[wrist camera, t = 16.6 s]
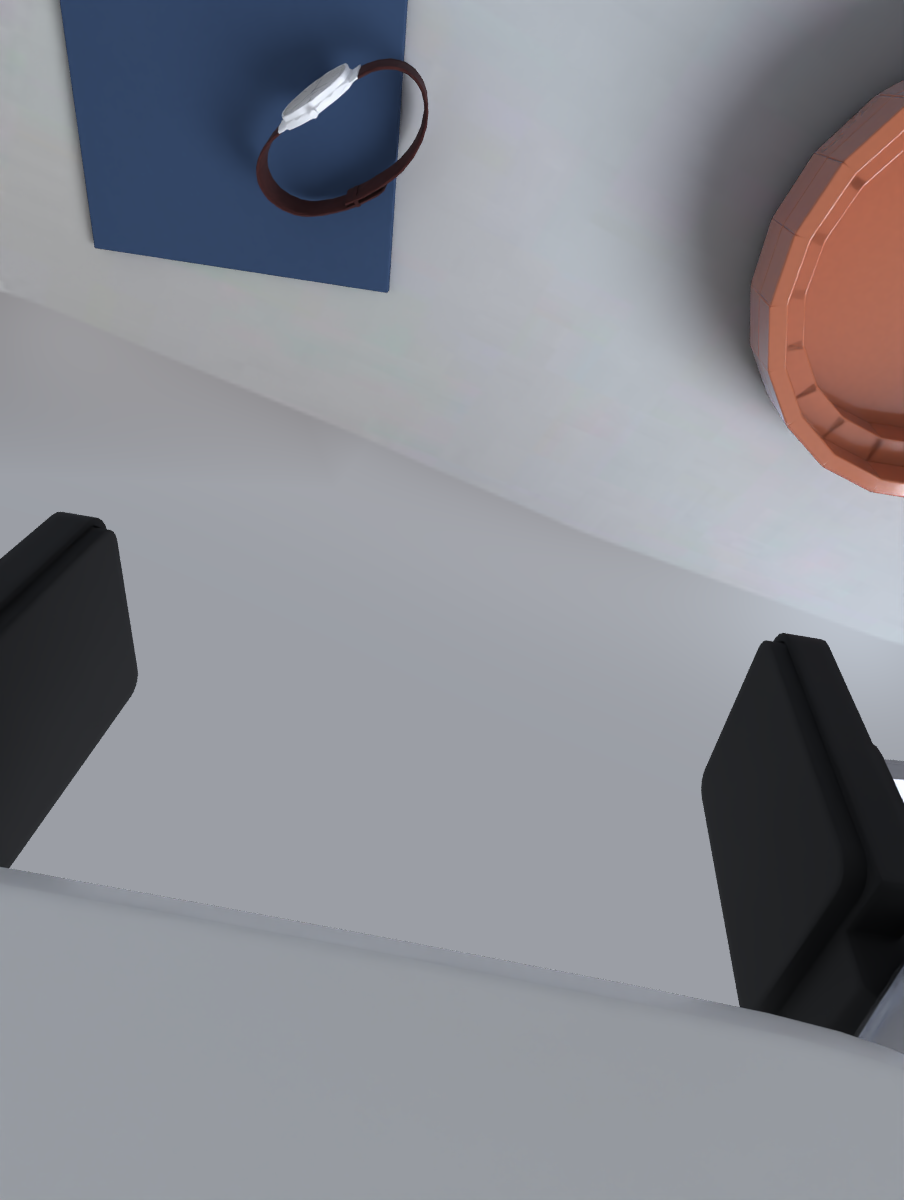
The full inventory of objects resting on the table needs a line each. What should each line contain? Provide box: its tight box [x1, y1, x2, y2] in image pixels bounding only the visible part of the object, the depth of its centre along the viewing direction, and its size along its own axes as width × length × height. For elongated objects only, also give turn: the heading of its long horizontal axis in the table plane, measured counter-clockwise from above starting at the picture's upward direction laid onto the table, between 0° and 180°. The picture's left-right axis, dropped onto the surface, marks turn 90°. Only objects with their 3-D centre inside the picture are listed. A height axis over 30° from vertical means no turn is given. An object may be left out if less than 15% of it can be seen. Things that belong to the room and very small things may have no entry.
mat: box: [60, 0, 408, 293], centre depth 31 cm, size 18×14×1 cm
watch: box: [256, 58, 428, 217], centre depth 31 cm, size 8×5×4 cm, turn 119°
